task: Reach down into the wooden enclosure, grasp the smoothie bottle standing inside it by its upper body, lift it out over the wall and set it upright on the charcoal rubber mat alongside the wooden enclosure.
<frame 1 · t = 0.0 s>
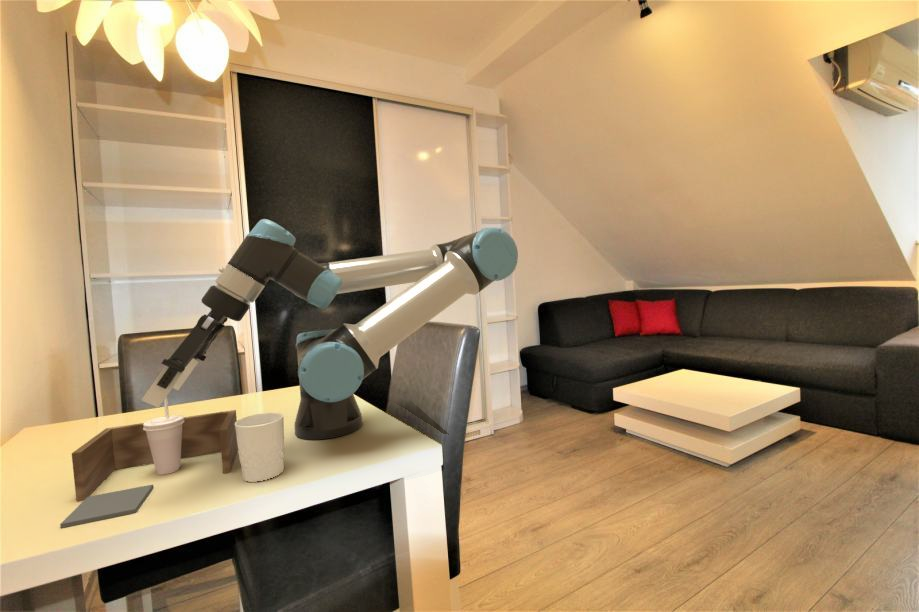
hand: (161, 394, 76), 15 cm above the table, tool tilted 35°, fingers open, 13 cm apart
white cup: (264, 475, 76), on the table
smoothie: (168, 471, 80), on the table
wooden enclosure: (168, 470, 80), on the table
mat: (111, 506, 67), on the table
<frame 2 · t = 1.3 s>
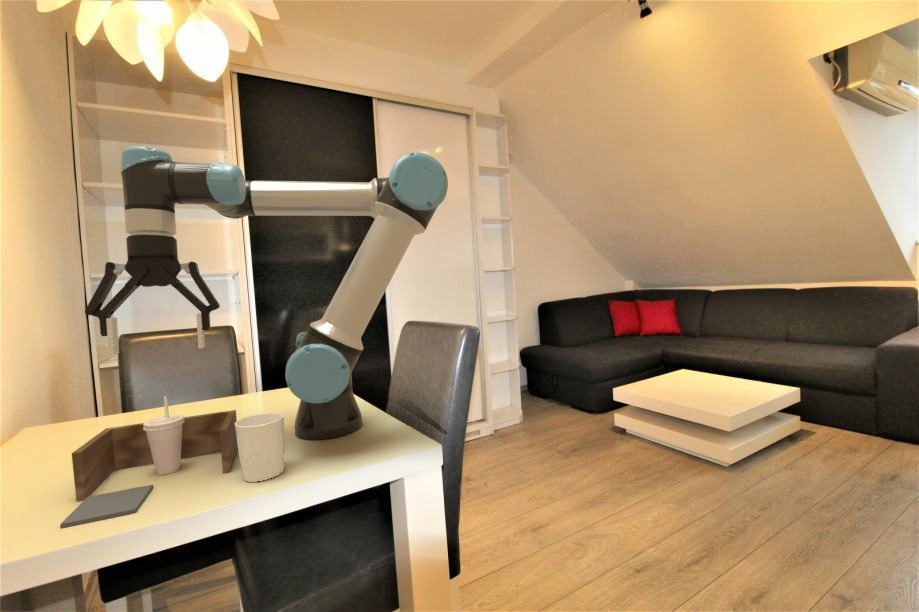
hand: (159, 351, 79), 23 cm above the table, tool pointing down, fingers open, 13 cm apart
nothing on the table moved.
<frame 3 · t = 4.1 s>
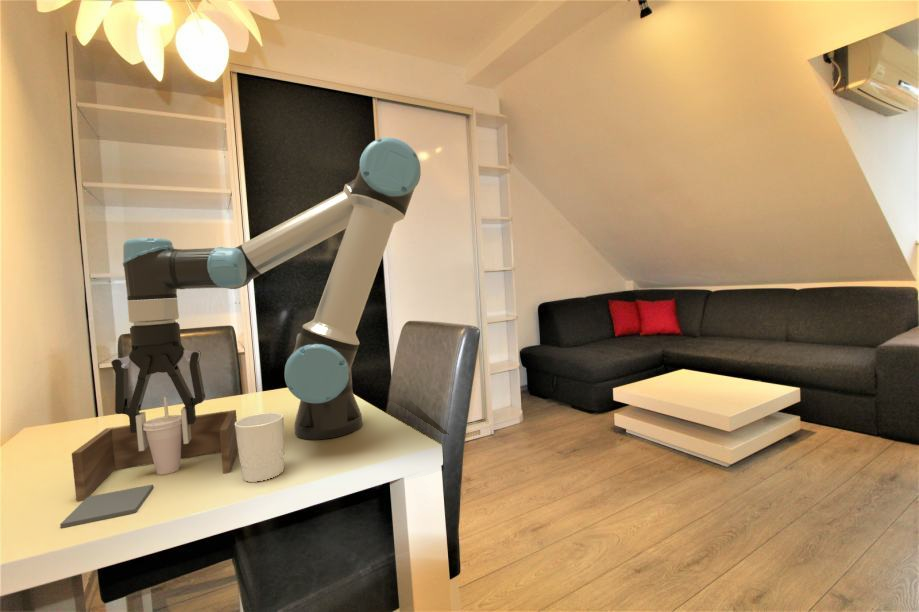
hand: (166, 444, 80), 5 cm above the table, tool pointing down, fingers closed on smoothie, 6 cm apart
smoothie: (168, 471, 80), on the table, touching gripper
everything else where it was.
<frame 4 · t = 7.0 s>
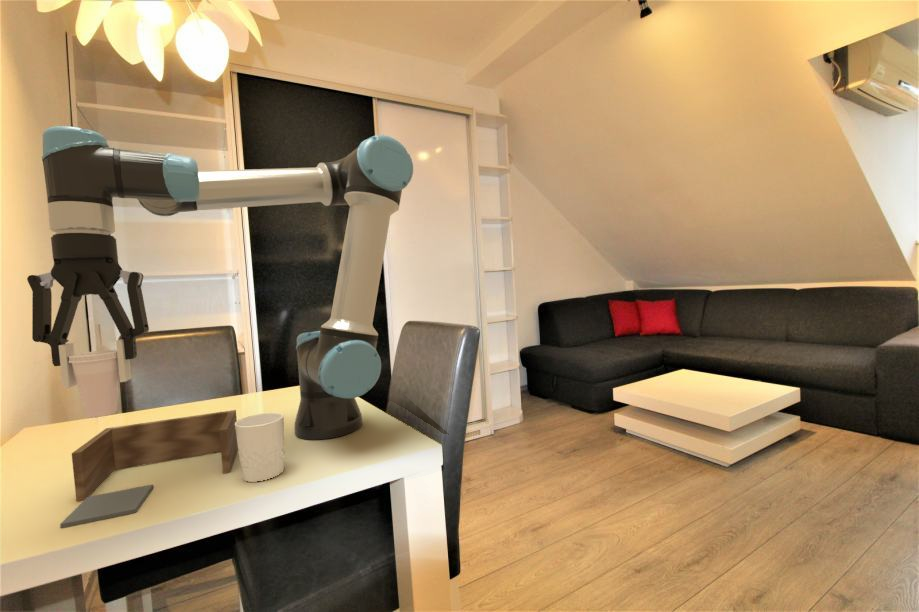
hand: (98, 383, 66), 20 cm above the table, tool pointing down, fingers closed on smoothie, 6 cm apart
smoothie: (102, 415, 67), point 15 cm above the table, touching gripper
everything else where it was.
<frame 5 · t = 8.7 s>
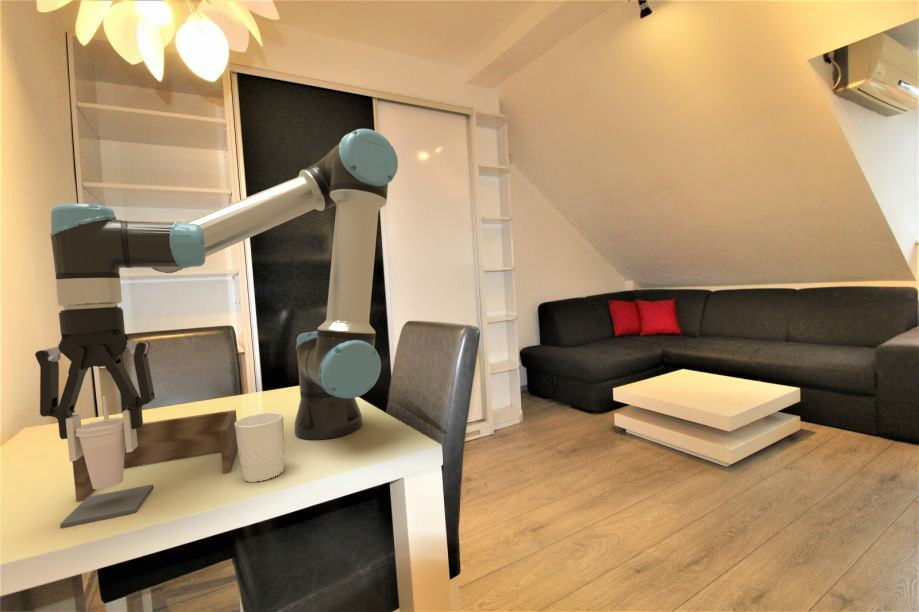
hand: (105, 453, 67), 9 cm above the table, tool pointing down, fingers closed on smoothie, 6 cm apart
smoothie: (108, 485, 67), point 3 cm above the table, touching gripper
everything else where it was.
when the fingers open (6 cm above the table, at t = 10.1 s): smoothie stays where it is, resting on mat.
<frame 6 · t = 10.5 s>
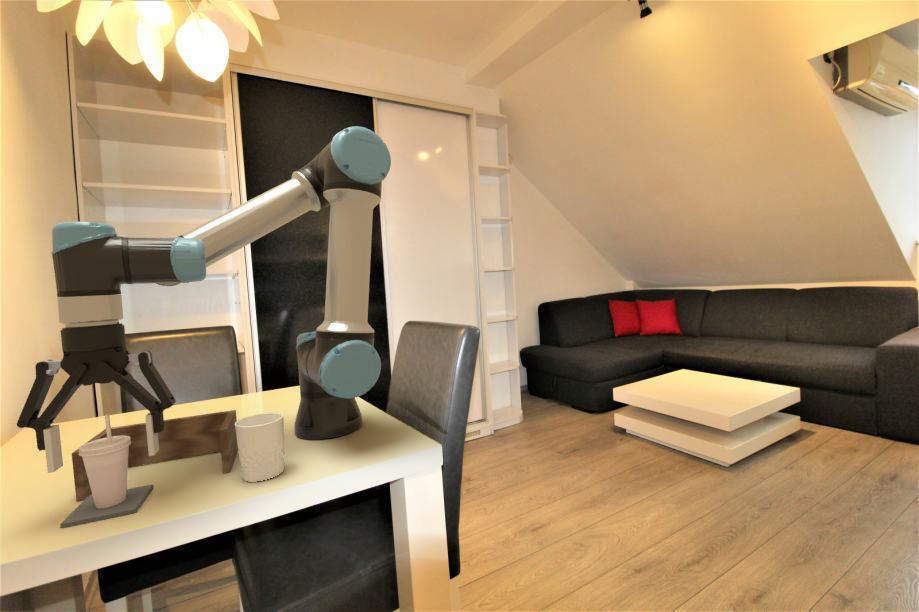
hand: (106, 461, 67), 7 cm above the table, tool pointing down, fingers open, 12 cm apart
smoothie: (111, 503, 67), resting on mat
everything else where it was.
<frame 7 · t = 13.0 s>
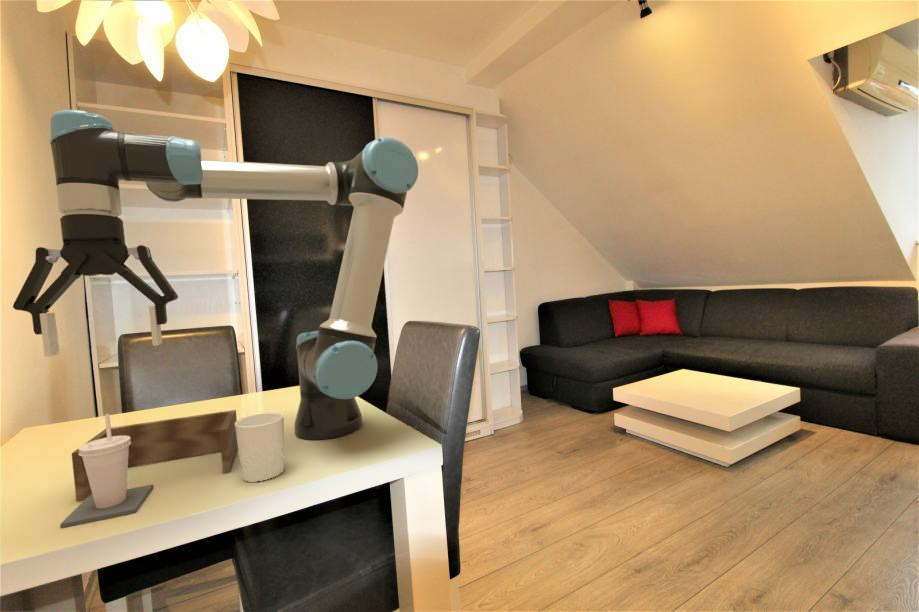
hand: (107, 350, 68), 25 cm above the table, tool pointing down, fingers open, 13 cm apart
nothing on the table moved.
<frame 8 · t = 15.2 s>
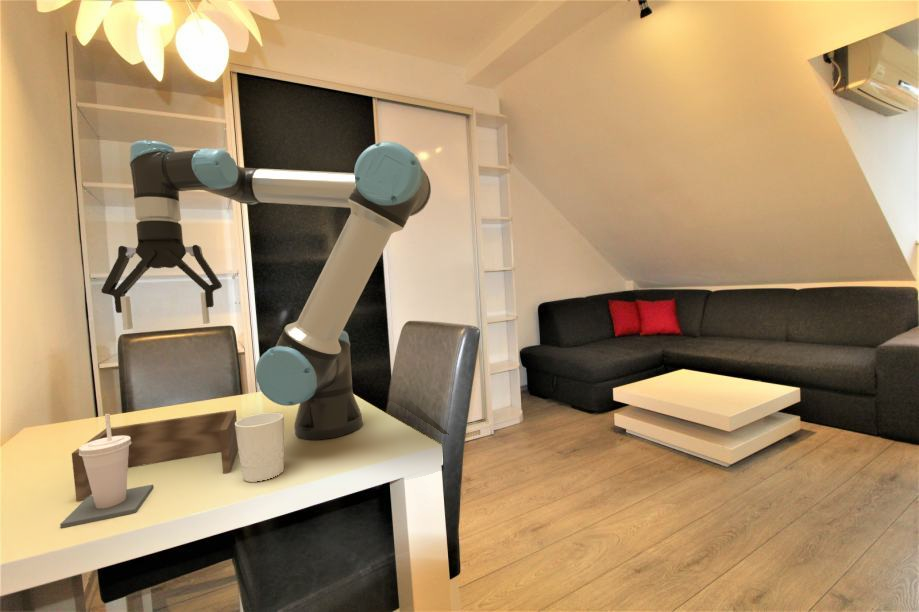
hand: (168, 326, 87), 27 cm above the table, tool pointing down, fingers open, 13 cm apart
nothing on the table moved.
at the end: smoothie inside the target area on the mat (0.0 cm from its centre), point 0.4 cm above the mat's base; smoothie tilted 0°; the gripper is holding nothing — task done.
